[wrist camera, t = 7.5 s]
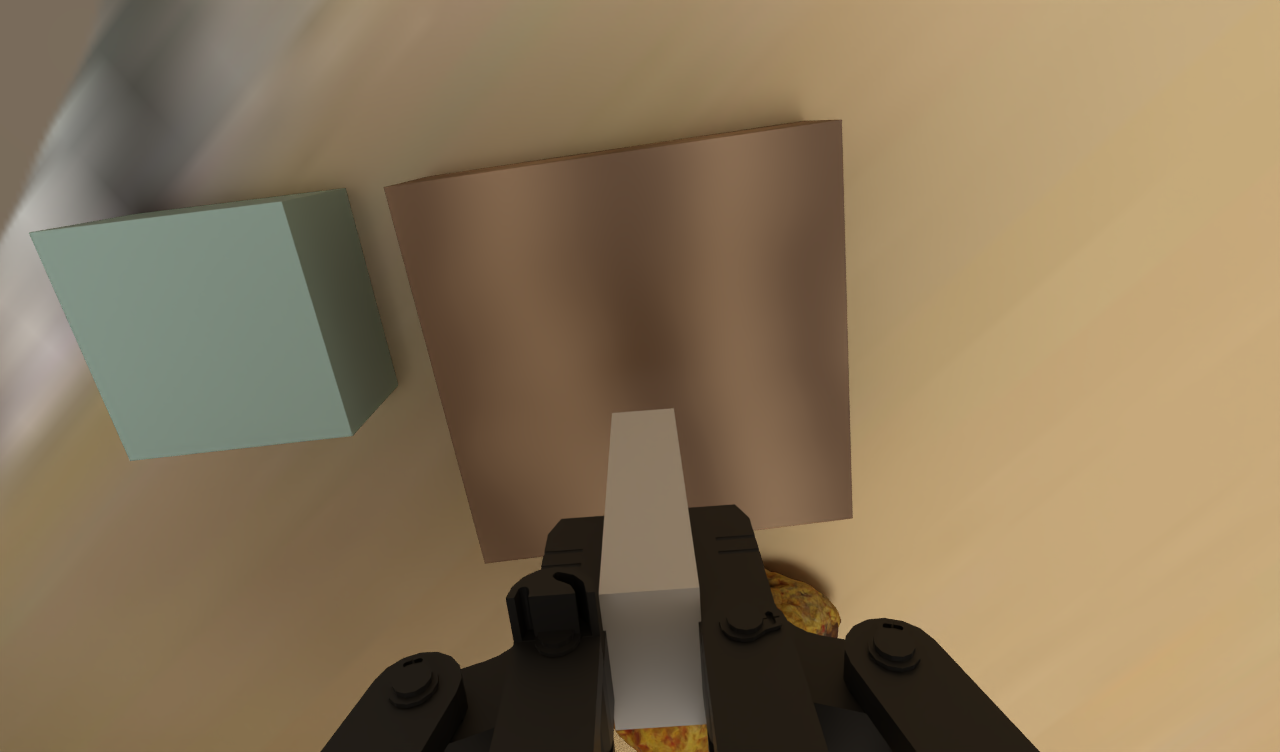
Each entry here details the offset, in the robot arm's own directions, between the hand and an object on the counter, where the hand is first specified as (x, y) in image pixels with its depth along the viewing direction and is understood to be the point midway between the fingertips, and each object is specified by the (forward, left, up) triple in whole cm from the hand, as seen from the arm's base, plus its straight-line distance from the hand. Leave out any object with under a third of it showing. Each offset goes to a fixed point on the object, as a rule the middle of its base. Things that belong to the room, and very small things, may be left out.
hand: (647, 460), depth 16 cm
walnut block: (0, 0, -12) cm, 12 cm away
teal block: (-14, +2, -11) cm, 19 cm away
